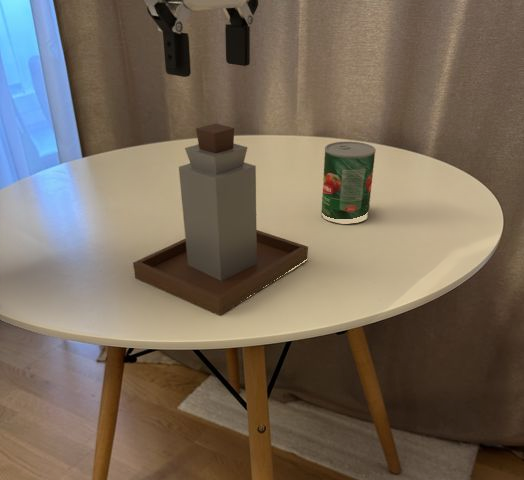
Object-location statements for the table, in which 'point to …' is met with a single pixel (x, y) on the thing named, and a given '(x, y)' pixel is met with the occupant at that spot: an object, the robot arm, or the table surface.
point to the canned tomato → (347, 179)
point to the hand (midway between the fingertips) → (209, 69)
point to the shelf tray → (209, 288)
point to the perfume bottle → (219, 204)
